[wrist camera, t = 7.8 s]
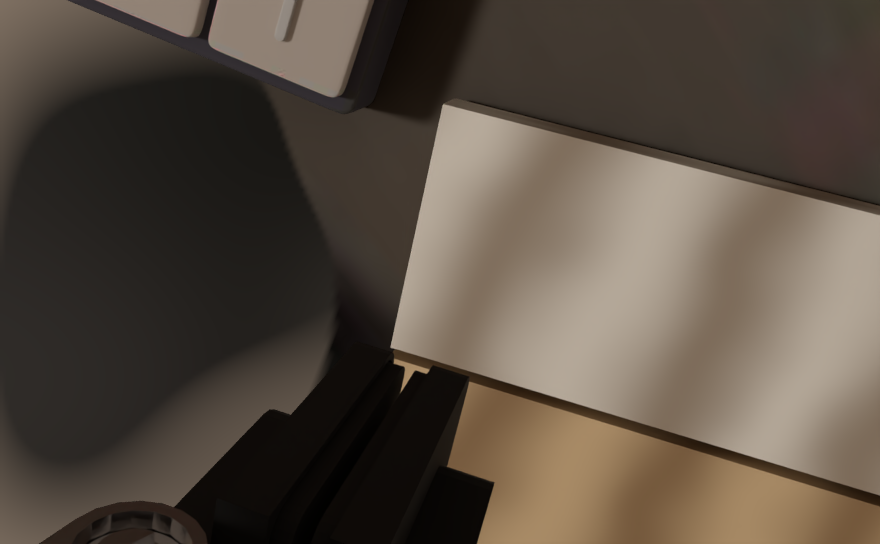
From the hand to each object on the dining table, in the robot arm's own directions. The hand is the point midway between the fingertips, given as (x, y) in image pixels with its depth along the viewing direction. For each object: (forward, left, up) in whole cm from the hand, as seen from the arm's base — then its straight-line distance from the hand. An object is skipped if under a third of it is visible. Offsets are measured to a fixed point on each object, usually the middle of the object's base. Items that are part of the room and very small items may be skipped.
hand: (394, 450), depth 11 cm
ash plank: (-8, +2, -18) cm, 19 cm away
